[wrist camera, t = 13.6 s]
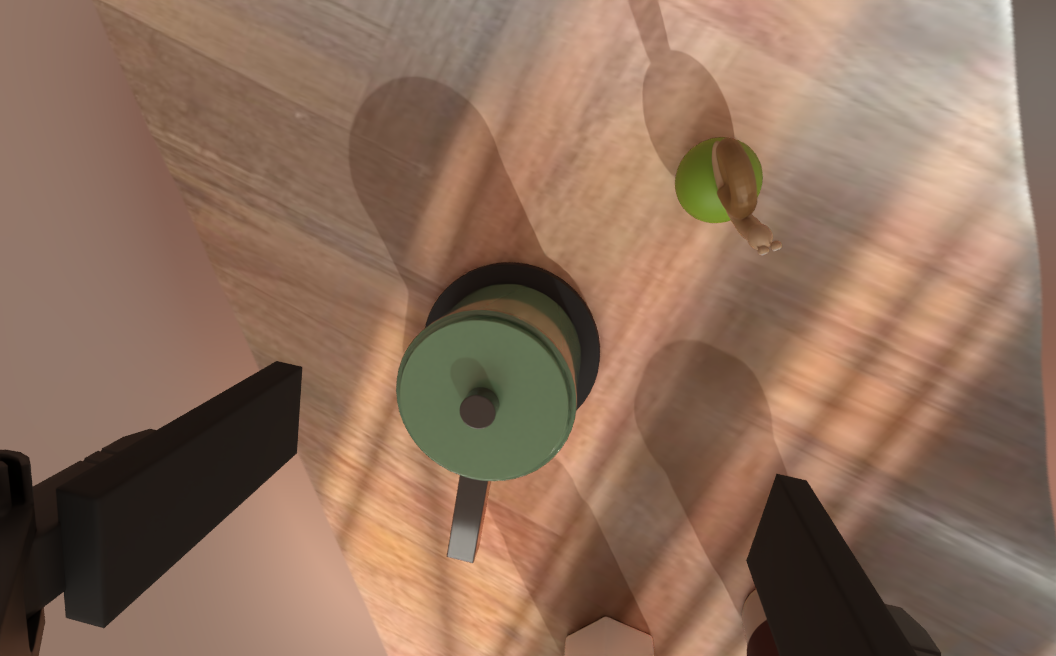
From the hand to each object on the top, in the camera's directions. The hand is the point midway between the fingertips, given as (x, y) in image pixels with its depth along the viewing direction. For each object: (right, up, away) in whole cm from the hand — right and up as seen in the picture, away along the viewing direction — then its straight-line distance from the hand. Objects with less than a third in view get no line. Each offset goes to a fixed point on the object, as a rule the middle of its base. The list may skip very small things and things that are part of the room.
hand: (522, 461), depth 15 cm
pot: (-2, -2, +30) cm, 30 cm away
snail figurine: (+13, +14, +25) cm, 31 cm away
